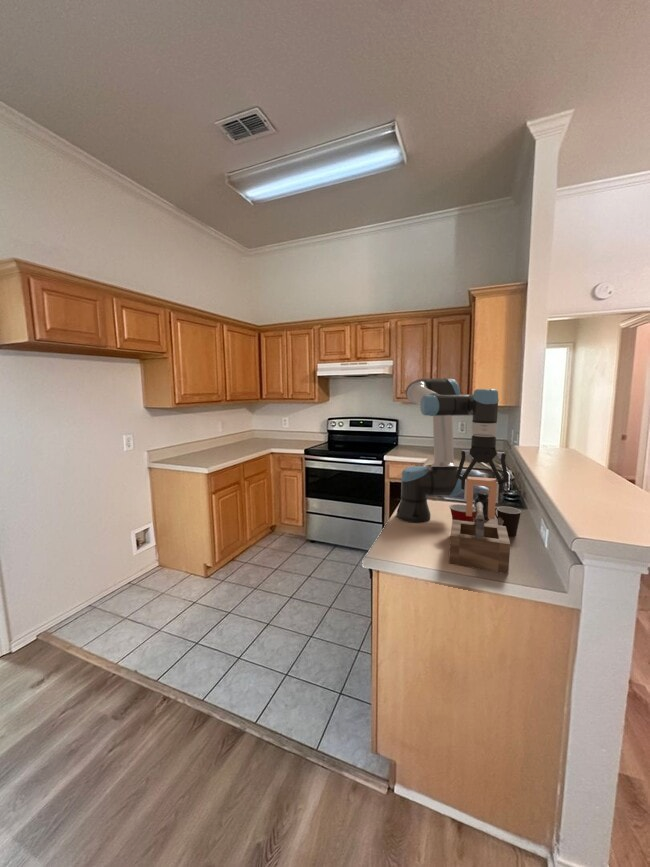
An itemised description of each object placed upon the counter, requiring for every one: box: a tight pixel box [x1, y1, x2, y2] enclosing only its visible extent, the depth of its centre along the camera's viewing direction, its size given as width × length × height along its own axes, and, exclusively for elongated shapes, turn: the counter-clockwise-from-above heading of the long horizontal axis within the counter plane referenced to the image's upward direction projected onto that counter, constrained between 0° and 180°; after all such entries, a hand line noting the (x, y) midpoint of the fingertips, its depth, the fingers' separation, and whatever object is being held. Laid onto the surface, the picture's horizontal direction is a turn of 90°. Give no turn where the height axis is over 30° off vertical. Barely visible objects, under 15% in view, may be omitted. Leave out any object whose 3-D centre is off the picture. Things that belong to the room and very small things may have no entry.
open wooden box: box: [448, 502, 511, 574], centre depth 123 cm, size 16×18×18 cm
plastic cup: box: [448, 503, 476, 522], centre depth 143 cm, size 11×11×12 cm
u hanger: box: [465, 475, 498, 520], centre depth 121 cm, size 4×9×13 cm, turn 68°
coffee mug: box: [495, 506, 522, 538], centre depth 146 cm, size 12×9×10 cm
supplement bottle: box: [473, 490, 489, 521], centre depth 162 cm, size 7×7×12 cm
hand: (480, 500), depth 121 cm, fingers closed on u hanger, 9 cm apart
